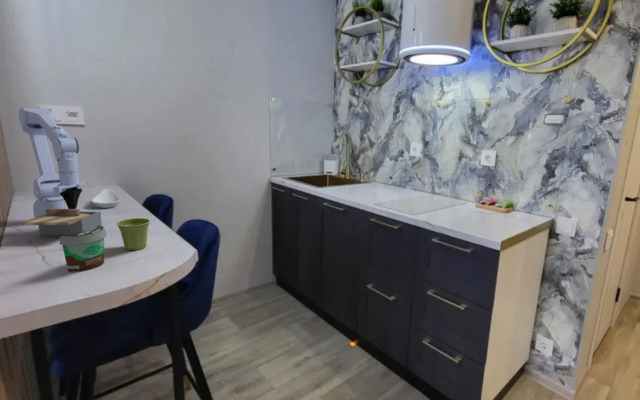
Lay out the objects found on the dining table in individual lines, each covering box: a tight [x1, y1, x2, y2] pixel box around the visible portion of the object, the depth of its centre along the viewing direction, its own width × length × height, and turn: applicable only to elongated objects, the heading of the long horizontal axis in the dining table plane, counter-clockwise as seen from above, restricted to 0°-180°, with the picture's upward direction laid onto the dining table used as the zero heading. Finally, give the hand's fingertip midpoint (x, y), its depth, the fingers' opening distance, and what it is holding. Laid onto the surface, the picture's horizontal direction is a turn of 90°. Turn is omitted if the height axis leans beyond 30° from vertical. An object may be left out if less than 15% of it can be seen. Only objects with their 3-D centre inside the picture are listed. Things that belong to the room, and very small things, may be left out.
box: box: [38, 210, 103, 237], centre depth 121 cm, size 14×12×6 cm
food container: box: [59, 225, 108, 272], centre depth 92 cm, size 12×6×10 cm, turn 168°
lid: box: [21, 208, 90, 226], centre depth 114 cm, size 14×12×3 cm
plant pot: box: [116, 217, 151, 251], centre depth 107 cm, size 9×9×9 cm
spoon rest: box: [91, 188, 122, 209], centre depth 164 cm, size 24×12×7 cm, turn 29°
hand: (72, 208), depth 122 cm, fingers closed
